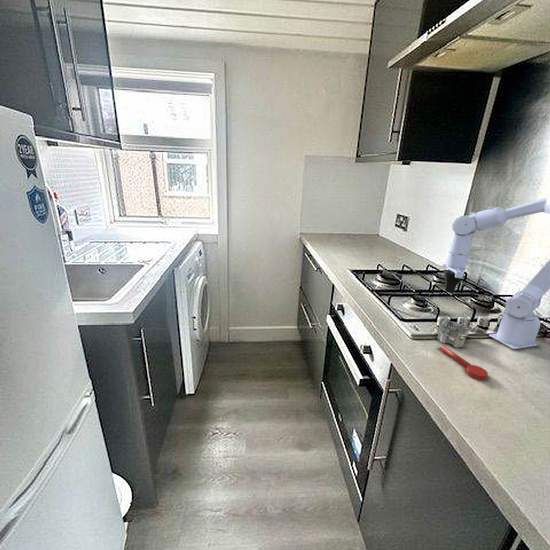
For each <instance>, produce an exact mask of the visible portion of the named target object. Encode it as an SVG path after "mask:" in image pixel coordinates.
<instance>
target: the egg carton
mask: <svg viewBox="0 0 550 550" xmlns="http://www.w3.org/2000/svg"><path fill="white" fill-rule="evenodd" d="M445 320H448V326H449V327H450V328H449V327H447V324H445V323H446V322H445ZM446 327H447V328H446ZM459 330H460V331H459ZM469 330H470V329H469V327H468V326H467V327H464V326H463V324H459V323H458V322H455V321H451V320H449V319H447V318H445V319H444V320H443V321H442V322H441V323H440V325H439V326H438V327H437V332H438V334H437V338H436V339H437V340H438V341H439V342H440V343H442V344H450V345H452V346H453V347H454V348H463V347H464V345H465V341H466V339H467V337H468V335H470V331H469Z"/></svg>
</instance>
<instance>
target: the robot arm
mask: <svg viewBox="0 0 550 550" xmlns="http://www.w3.org/2000/svg"><path fill="white" fill-rule="evenodd" d="M539 213H545V214H550V196H547V197H543V198H539V199H537V200H536V199H535V200H533V201H530V202H526V203H523V204H519V205H516V206H512V207H509V208H503V207H501V206H494V205H491V206H488V207H487V209H485V210H481V211H477V212H475V211H472V212H470V213H469V215H460V216H458V217H456V218H455V219H454V220H453V222H452V223H451V228H452V231H453V233H452V236H451V240H450V244H449V249H448V253H447V257H446V261H445V263H441V265H440V266H441V268H445V269H443V270H442V271H443V275H444V291H445V293H449V294H453V293H454V291H455V290H456V288H457V287H458V285H459V283H460V282H461V281H462V280H463V279H464V278H465V275H464V274H465V272H466V268H467V263H468V259H469V254H470V252H471V248H472V244H473V239H474V235H475V233H476V232H482V231H486V230H490V229H494V228H499V227H503V226H504V225H505V224H506V223H507V222H508V220H513V219H517V218H521V217H525V216H526V217H527V216H530V215H534V214H539ZM549 290H550V258H549V260H547V262H545V264H544V265H543V266H542V267H541V269H539V270H538V271H537V273H536V274H535V275H534V276H533V277H532V279H530V281H529V282H528V283H527V284H526V285H525V286H524V287H523V288H522V289H521V290H519V291H516V292H515V294H514V295H513V296H510V297H509V298H508V299H507V300H506V301H505V306H504V307H505V309H504V311H503V314H502V317H501V320H500V323H499V326H498V329H497V332H496V333H489V334H488V337H491V338H492V339H494V340H496V341H498V342H499V343H501V344H503V345H504V346H506V347H508V348H510V349H511V350H519V349H525V348H533V347H537V346H538V344H537V343H535V342H536V339H537V336H538V333H539V330H540V328H541V321H540V318H539V317H538V316H537V315H536V313H535V312H534V311H535V310H536V309H538V308H539V307H540V305H541V303H542V302H541V301H542V298H543V297H544V295H546V293H547V292H549Z"/></svg>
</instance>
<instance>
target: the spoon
mask: <svg viewBox="0 0 550 550" xmlns="http://www.w3.org/2000/svg"><path fill="white" fill-rule="evenodd" d="M439 350H441V351H442V352H443V353H444V354H446V355H447V356H449V357H450V358H452V360H454V361H456V362H457V363H459V364H460V365H461V366H463V367H464V368H465V372H466V374H467V375H468V376H469V377H471V378H473V379H475V380H478V381H479V380H480V381H486V380H487V378H488V376H489V373H488V371H487V370H486V369H484V368H483V367H481V366H478V365H475V364H471V363H470V362H468V361H467V360H465V359H464V358H462V357H461V356H460V355H458V354H456V352H453V351H452V350H451V349H450V348H448V347H446V346H445V345H443V344H441V345H439Z"/></svg>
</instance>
